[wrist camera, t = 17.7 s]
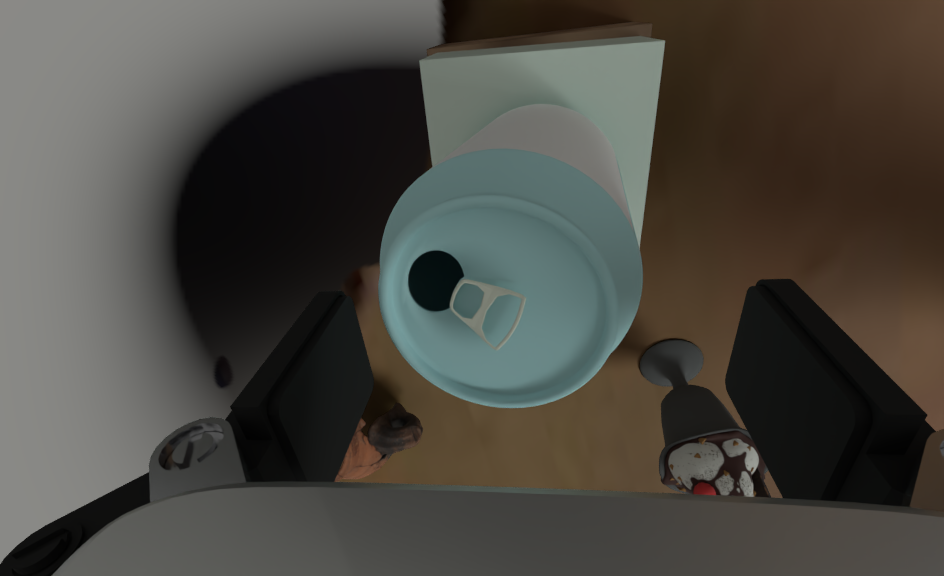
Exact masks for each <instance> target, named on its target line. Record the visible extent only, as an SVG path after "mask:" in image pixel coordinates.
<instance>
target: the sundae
mask: <svg viewBox="0 0 944 576" xmlns="http://www.w3.org/2000/svg"><path fill="white" fill-rule="evenodd" d="M702 365H703V355H702V352H701V350H700V349H699V348H698V347H697V346H695V345H694V344H693V343H690V342H688V341H684V340H667V341H663V342H660V343H658V344H655V345H654V346H652V347H651V348H650V349H648V350H647V351H646V352H645V354H644V355H643V357H642V358H641V362H640V370H641V373H642V374H643V376H644V377H645V378H646V379H647V380H648V381H650V382H651V383H653V384H656V385H660V386H673V390H671V391H670V392H669V393H668V394H667V395H666V396H665V398H664V399H663V401H662V403H661V418H662V428H663V434H664V440H665V447H664V449H663V450H662V452H661V455H660V459H659V473H660V476H661V482H662V483H663V484H664V485H666V486H668V487H669V488H671V489H673V490H675V491H679V492H682V493H686V494H699V495H723V496H747V497H768V498H771V496H770V493H769V491H768V489H767V487H766V485H765V483H764V479H765V475H764V474H765V473H766V472H767V471H768V468H767V466H766V465H765V463H764V461H763V459H762V457H761V455H760V453H759V451H758V449H757V448H756V446H755V444H754V442H753V440H752V438H751V436H750V434H749V432H748V431H747V430H746V429H742V428H740V427H739V426H738V424H737V423H736V421H735V420H734V419H733V417H732V416H731V414H730V413H729V412H728V410H727V409H726V407H725V406H724V405H723V404H722V403H721V402H720V400H719V399H718V398H717V397H716V396H715V395H714V394H713V393H712V392H711V391H710V390H709V389H707V388H704V387H700V386H695V385H688V383H687V381H689V380H691V379H693V378H694V377H695V376H696V375H697V374H698V373H699V372H700V370H701V368H702Z"/></svg>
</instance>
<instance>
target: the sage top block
mask: <svg viewBox="0 0 944 576" xmlns="http://www.w3.org/2000/svg"><path fill="white" fill-rule="evenodd" d="M664 47H665V40H659V39H654V38H649V37H644V36H634V37H622V38H610V39H598V40H586V41H574V42H561V43H549V44H537V45H525V46H513V47H501V48H489V49H476V50H464V51H452V52H440V53H435V54H433V55H431V56H428V57H426V58H424V59H422V60H420V61H419V63H420V71H421V79H422V86H423V95H424V103H425V111H426V120H427V128H428V136H429V144H430V152H431V160H432V167H433V166H435V165H436V164H437V163H439V162H440V161H441V160H442V159H444V158H445V157H446V156H448V155H449V154H450V153H452V152H453V151H454V150H456V149H457V148H458V147H459V146H461V145H462V144H463V143H465V142H466V141H467V140H469V139H470V138H471V137H472V136H474V135H475V134H476V133H478V132H479V131H480V130H482V129H483V128H484V127H485V126H487V125H488V124H489V123H491V122H492V121H493V120H495V119H496V118H497V117H499V116H501V115H502V114H504V113H506V112H508V111H510V110H513V109H516V108H518V107H522V106H526V105H533V104H551V105H557V106H562V107H565V108H569V109H571V110H574V111H576V112H578V113H580V114H582V115H583V116H585V117H586V118H588V119H589V120H591V121H592V122H593V123H594V124H595V125H596V126H597V127H598V128H599V129H600V130H601V131H602V132H603V133H604V135H605V136H606V137H607V139H608V140H609V142H610V144H611V145H612V148H613V150H614V152H615V155H616V157H617V160H618V165H619V169H620V173H621V177H622V181H623V185H624V189H625V193H626V197H627V201H628V205H629V209H630V213H631V217H632V221H633V225H634V229H635V233H636V237H637V241H638V245H639V248H640V240H641V232H642V224H643V216H644V208H645V200H646V192H647V184H648V176H649V168H650V159H651V151H652V143H653V135H654V127H655V119H656V111H657V103H658V95H659V87H660V79H661V71H662V63H663V55H664Z"/></svg>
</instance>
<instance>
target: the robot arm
mask: <svg viewBox="0 0 944 576" xmlns="http://www.w3.org/2000/svg"><path fill="white" fill-rule="evenodd" d="M725 383H726V389H727V392H728V394H729V396H730V398H731V400H732V402H733V404H734V406H735V408H736V410H737V412H738V413H739V415H740V417H741V419H742V421H743V423H744V425H745V427H746V429H747V430H748V432H749V434H750V436H751V438H752V440H753V442H754V444H755V446H756V448H757V449H758V451H759V453H760V455H761V457H762V459H763V461H764V463H765V465H766V466H767V468H768V470H769V472H770V474H771V476H772V478H773V480H774V482H775V484H776V485H777V487H778V489H779V491H780V493H781V495H782V497H783V498H768V497H747V496H723V495H699V494H675V493H651V492H627V491H600V490H573V489H546V488H517V487H489V486H459V485H426V484H393V483H360V482H334V481H335V479H336V476H337V474H338V472H339V469H340V467H341V464H342V462H343V460H344V457H345V455H346V452H347V450H348V448H349V445H350V443H351V441H352V438H353V436H354V433H355V431H356V429H357V426H358V424H359V421H360V419H361V417H362V414H363V412H364V410H365V407H366V405H367V402H368V400H369V398H370V395H371V393H372V390H373V385H374V379H373V374H372V370H371V367H370V363H369V359H368V355H367V352H366V348H365V344H364V341H363V337H362V333H361V330H360V326H359V322H358V319H357V315H356V311H355V308H354V304H353V301H352V299H351V297H349V296H346V295H345V294H344V292H342V291H321V292H318V293H317V294H316V296H315V297H314V298H313V299H312V301H311V302H310V304H309V305H308V306H307V307H306V308H305V310H304V311H303V312H302V314H301V315H300V316H299V318H298V319H297V320H296V322H295V323H294V324H293V325H292V327H291V328H290V330H289V331H288V332H287V333H286V335H285V336H284V337H283V338H282V340H281V341H280V342H279V344H278V345H277V346H276V348H275V349H274V350H273V352H272V353H271V354H270V355H269V357H268V358H267V360H266V361H265V362H264V363H263V365H262V366H261V367H260V368H259V370H258V371H257V372H256V374H255V375H254V377H253V378H252V379H251V380H250V382H249V383H248V384H247V385H246V387H245V388H244V390H243V391H242V392H241V393H240V395H239V396H238V397H237V399H236V400H235V401H234V403H233V404H232V405H231V406H230V407H231V409H232V411H231V413H230V414H229V415H228V417H227V418H226V419H225V420H224V419H222V418H216V417H210V418H203V419H199V420H196V421H193V422H191V423H188V424H186V425H184V426H182V427H180V428H178V429H176V430H175V431H174V432H172V433H171V434H170V435H168V436H167V437H166V438H165V439H164V440H163V441H162V442H161V443H160V444H159V445H158V446H157V447H156V449H155V450H154V452H153V454H152V455H151V458H150V463H149V473H146V474H144V475H143V476H141V477H139V478H137V479H135V480H133V481H131V482H129V483H127V484H125V485H123V486H121V487H119V488H117V489H115V490H114V491H112V492H110V493H108V494H106V495H104V496H102V497H100V498H98V499H96V500H94V501H92V502H90V503H88V504H86V505H84V506H83V507H81V508H79V509H77V510H75V511H73V512H71V513H69V514H67V515H65V516H63V517H61V518H59V519H57V520H55V521H54V522H52V523H50V524H48V525H46V526H44V527H43V528H41V529H39V530H38V531H36V532H34V533H33V534H31V535H30V536H29V537H27V538H26V539H25V540H24V541H22V542H21V543H20V544H19V545H17V546H16V547H15V548H14V549H13V550H12V551H11V552H10V553H9V554H8V555H7V556H6V557H5V558H4V560H3V561H2V563H1V564H0V576H944V429H942V430H939V431H937V432H936V431H935V430H934V429H933V428H932V427H931V426H930V425H929V424H928V423H927V422H926V421H925V418H926V417H927V414H926V413H925V412H924V411H923V410H922V409H921V408H920V407H919V406H918V405H917V404H916V403H915V402H914V401H913V400H912V399H911V398H910V397H909V396H908V395H907V394H906V393H905V392H904V391H903V390H902V389H901V388H900V387H899V386H898V385H897V384H896V383H895V382H894V381H893V380H892V379H891V378H890V377H889V376H888V375H887V374H886V373H885V372H884V371H883V370H882V369H881V368H880V367H879V366H878V365H877V364H876V363H875V362H874V361H873V360H872V359H871V358H870V357H869V356H868V355H867V354H866V353H865V352H864V351H863V350H862V349H861V348H860V347H859V346H858V345H857V344H856V343H855V342H854V341H853V340H852V339H851V338H850V337H849V336H848V335H847V334H846V333H845V332H844V331H843V330H842V329H841V328H840V327H839V326H838V325H837V324H836V323H835V322H834V321H833V320H832V319H831V318H830V317H829V316H828V315H827V314H826V313H825V312H824V311H823V310H822V309H821V308H820V307H819V306H818V305H817V304H816V303H815V302H814V301H813V300H812V299H811V298H810V297H809V296H808V295H807V294H806V293H805V292H804V291H803V290H802V289H801V288H800V287H799V286H798V285H797V284H796V283H795V282H794V281H793V280H791V279H765V280H760V281H758V282H757V284H756V286H751V287H749V289H748V291H747V294H746V298H745V302H744V306H743V310H742V314H741V318H740V322H739V326H738V330H737V334H736V338H735V342H734V346H733V350H732V354H731V358H730V362H729V366H728V370H727V374H726V379H725Z"/></svg>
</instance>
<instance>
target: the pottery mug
mask: <svg viewBox="0 0 944 576" xmlns="http://www.w3.org/2000/svg"><path fill="white" fill-rule="evenodd" d="M365 425H366V423H365V421H364V420H363V419H362V418H361V419H360V421H359V424H358V426H357V429H356V431H355V433H354V436H353V438H352V441H351V443H350V445H349V448H348V450H347V452H346V455H345V457H344V461H343V464H342V466H341V468H340V469H339V472H338V474H337V476H336V479H335V481H334V482H336V481H339V480H341V479H342V478H343V479H360V478H363V477H366V476H368V475H370V474H372V473H373V472H375V471H377V470H379V469H380V468H381V467H382V465H383V464H384V463H385V462H386V461H387V460H388V459H389V458H390V456H391V455H392V454H394V453H396V452H398V451H402V450H404V449H408V448H411V447H414V446H416V445H417V444H418V443H419V441H420V439H421V435H422V432H423V428H422V426H421V423H420V421H419V419H418V418H417V417H416V416H414V415H413V414H411V413H408V412H406V410H405V409H404V407H403V406H402V405H401V404H400V403H396V404H395V405H394V406H393V408H392V409H391V410H390V411H389V412H387V413H385V414H384V415H383V416H380V417H378V418H377V419H376V420H375V421H374V422H373V423H372V424H371V426H370V428H369V430H368V436H366V435H365V434H364V433H363V432H362V431H361V429H362V428H363V427H364V426H365Z"/></svg>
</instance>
